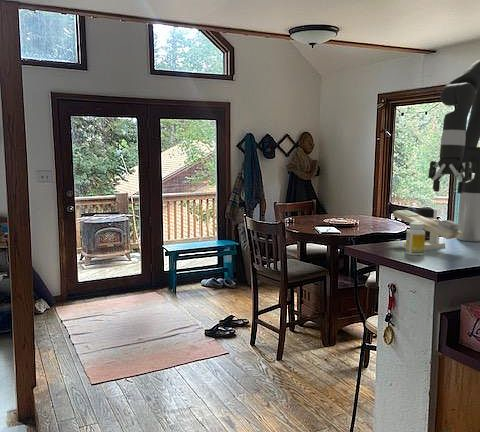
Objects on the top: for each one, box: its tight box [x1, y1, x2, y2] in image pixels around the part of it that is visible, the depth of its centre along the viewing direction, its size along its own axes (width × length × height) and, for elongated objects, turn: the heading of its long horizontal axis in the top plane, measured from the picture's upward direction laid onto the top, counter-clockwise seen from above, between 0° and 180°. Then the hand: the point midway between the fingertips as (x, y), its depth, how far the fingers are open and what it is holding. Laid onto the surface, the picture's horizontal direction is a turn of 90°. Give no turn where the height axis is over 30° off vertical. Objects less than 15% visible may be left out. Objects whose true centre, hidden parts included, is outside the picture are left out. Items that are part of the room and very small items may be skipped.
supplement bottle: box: [405, 222, 425, 256], centre depth 149 cm, size 5×5×10 cm
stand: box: [403, 219, 446, 251], centre depth 159 cm, size 13×6×9 cm, turn 121°
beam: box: [392, 209, 463, 240], centre depth 158 cm, size 7×22×4 cm, turn 31°
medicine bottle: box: [417, 206, 438, 241], centre depth 171 cm, size 7×7×12 cm
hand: (447, 192), depth 164 cm, fingers open, 8 cm apart
